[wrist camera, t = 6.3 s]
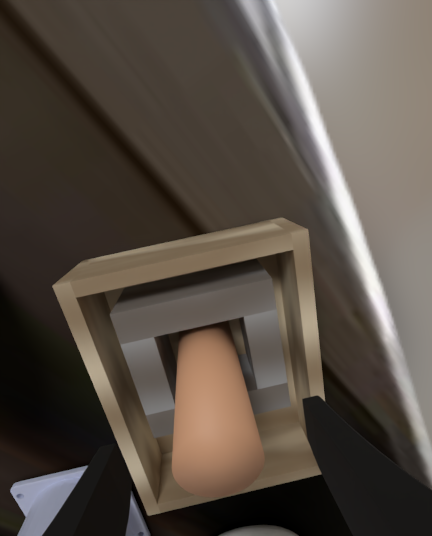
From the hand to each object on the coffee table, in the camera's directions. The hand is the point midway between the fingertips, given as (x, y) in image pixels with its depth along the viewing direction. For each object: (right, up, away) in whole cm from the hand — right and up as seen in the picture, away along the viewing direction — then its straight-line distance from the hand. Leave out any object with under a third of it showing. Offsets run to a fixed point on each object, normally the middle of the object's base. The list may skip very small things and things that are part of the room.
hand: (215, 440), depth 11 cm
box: (0, +1, +9) cm, 9 cm away
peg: (-1, +3, +7) cm, 8 cm away
